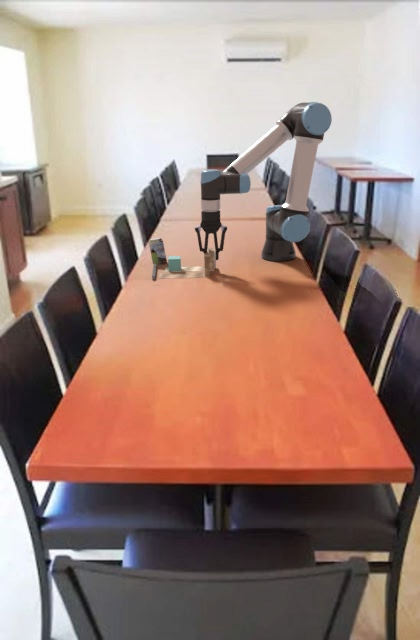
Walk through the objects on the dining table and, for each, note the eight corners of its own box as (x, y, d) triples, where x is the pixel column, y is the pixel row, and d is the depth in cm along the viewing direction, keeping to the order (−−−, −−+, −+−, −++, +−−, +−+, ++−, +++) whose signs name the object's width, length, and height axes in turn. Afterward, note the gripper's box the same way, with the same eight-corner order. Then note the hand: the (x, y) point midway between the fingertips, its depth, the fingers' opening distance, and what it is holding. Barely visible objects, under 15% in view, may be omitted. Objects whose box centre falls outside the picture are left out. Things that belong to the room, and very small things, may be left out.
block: (180, 267, 233) (180, 255, 231) (180, 271, 228) (180, 258, 227) (168, 268, 233) (168, 256, 231) (168, 271, 228) (168, 259, 226)
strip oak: (209, 274, 226) (209, 252, 223) (210, 279, 220) (210, 256, 217) (159, 276, 226) (158, 254, 222) (159, 281, 219) (157, 258, 216)
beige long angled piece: (213, 268, 235) (213, 247, 232) (214, 273, 228) (214, 251, 225) (165, 269, 234) (164, 248, 231) (164, 274, 228) (163, 252, 224)
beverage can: (164, 267, 238) (163, 239, 234) (148, 267, 240) (146, 239, 236) (168, 263, 244) (167, 236, 240) (152, 263, 246) (151, 236, 241)
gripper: (229, 208, 227) (229, 265, 235) (191, 208, 226) (192, 265, 234) (230, 211, 220) (230, 269, 228) (191, 212, 219) (193, 270, 227)
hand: (211, 267), depth 231 cm, fingers closed on beige long angled piece, 2 cm apart
